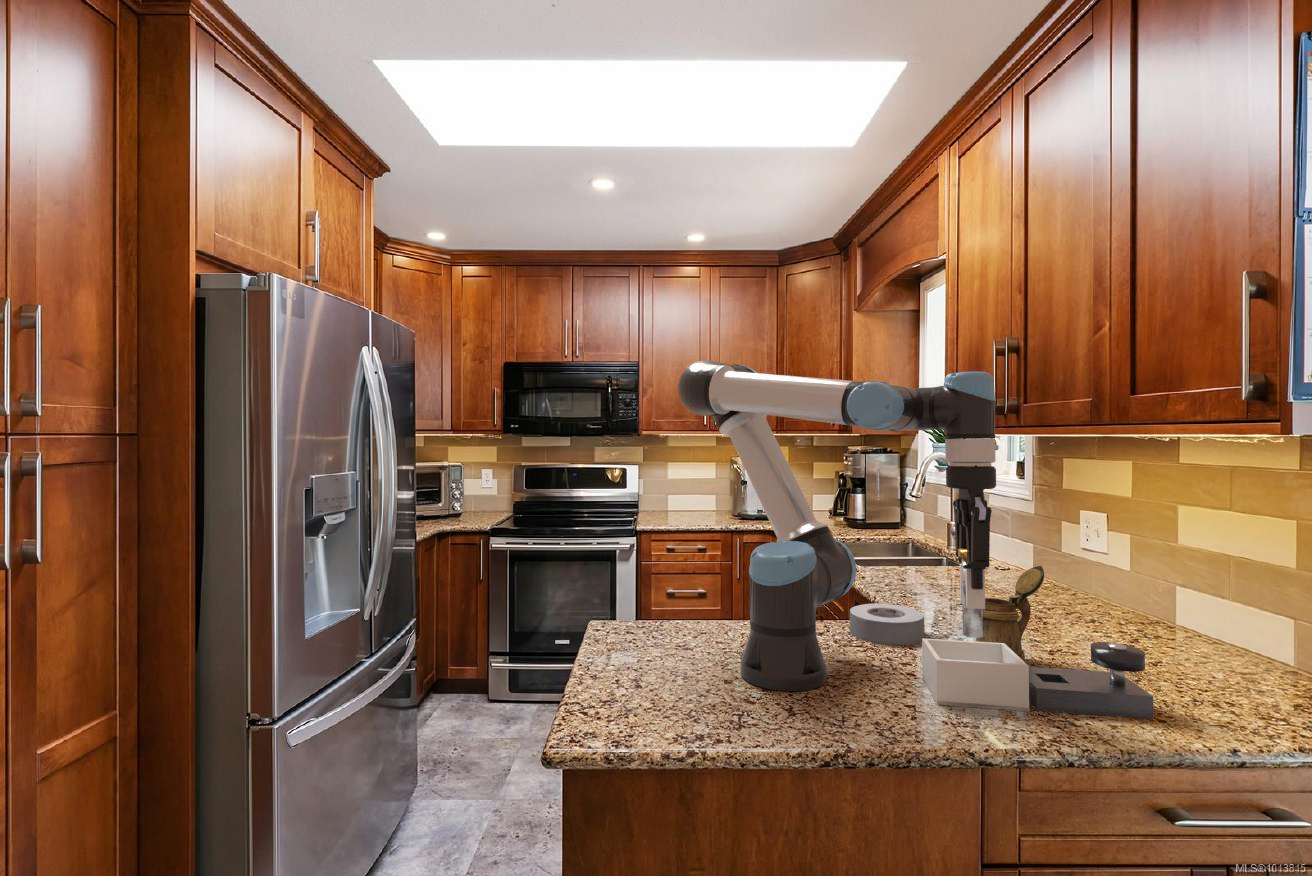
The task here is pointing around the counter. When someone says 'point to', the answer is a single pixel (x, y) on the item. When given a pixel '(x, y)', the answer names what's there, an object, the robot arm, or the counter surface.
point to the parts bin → (975, 674)
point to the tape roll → (887, 624)
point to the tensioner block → (1094, 685)
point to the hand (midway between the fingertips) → (972, 605)
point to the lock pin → (970, 616)
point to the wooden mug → (1011, 613)
